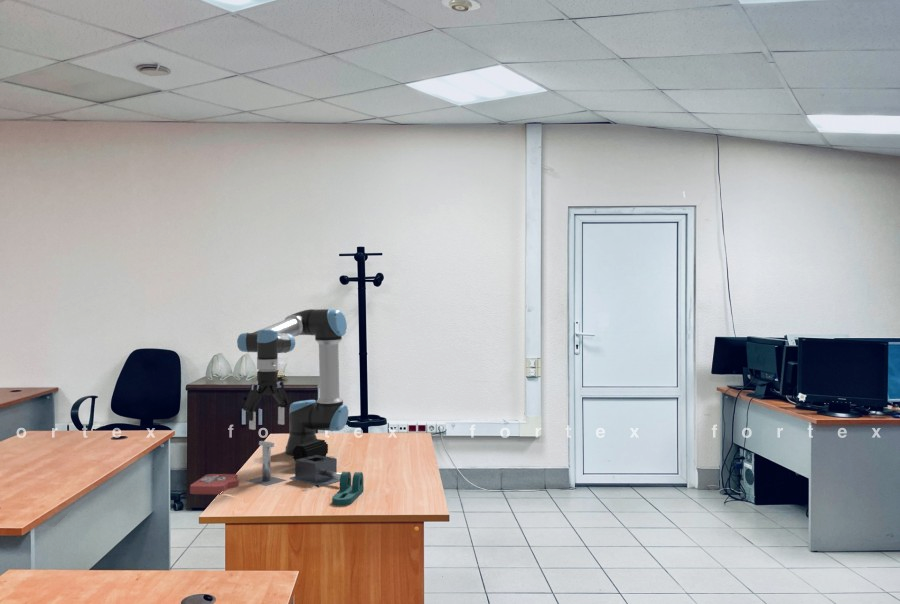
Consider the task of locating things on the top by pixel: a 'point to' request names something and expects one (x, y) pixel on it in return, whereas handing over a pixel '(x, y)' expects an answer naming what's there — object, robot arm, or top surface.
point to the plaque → (214, 484)
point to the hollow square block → (316, 470)
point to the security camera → (310, 449)
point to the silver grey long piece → (266, 459)
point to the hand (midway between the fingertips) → (267, 426)
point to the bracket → (348, 489)
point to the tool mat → (266, 483)
